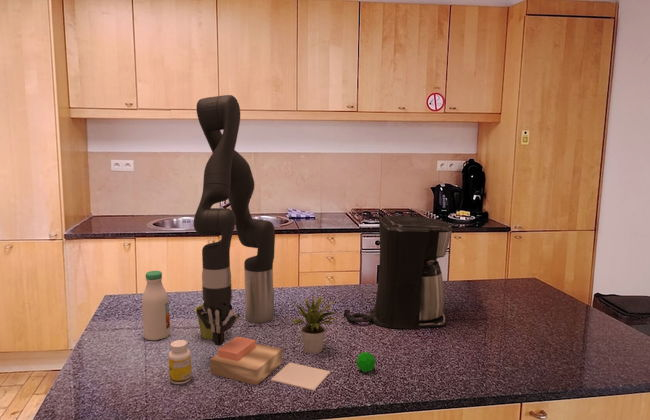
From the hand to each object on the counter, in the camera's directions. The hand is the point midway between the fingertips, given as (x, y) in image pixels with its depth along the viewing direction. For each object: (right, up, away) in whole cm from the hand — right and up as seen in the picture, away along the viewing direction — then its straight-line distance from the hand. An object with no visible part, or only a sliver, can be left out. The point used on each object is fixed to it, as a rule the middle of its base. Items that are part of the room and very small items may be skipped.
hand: (218, 344), depth 136 cm
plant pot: (-6, -2, +18) cm, 19 cm away
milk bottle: (-22, -2, +17) cm, 28 cm away
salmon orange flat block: (+5, -1, -2) cm, 6 cm away
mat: (+23, -6, -7) cm, 24 cm away
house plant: (+25, -4, +7) cm, 26 cm away
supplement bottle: (-8, -7, -9) cm, 13 cm away
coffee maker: (+53, 0, +35) cm, 64 cm away
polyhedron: (+39, -6, -3) cm, 40 cm away
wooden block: (+8, -6, -3) cm, 10 cm away
